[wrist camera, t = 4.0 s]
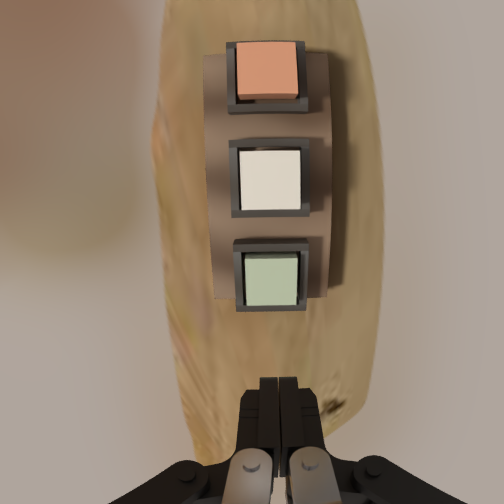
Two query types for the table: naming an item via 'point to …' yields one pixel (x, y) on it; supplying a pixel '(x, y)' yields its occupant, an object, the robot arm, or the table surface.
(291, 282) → the sage button
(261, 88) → the terracotta button
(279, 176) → the offwhite button
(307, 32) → the table surface
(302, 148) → the button board
